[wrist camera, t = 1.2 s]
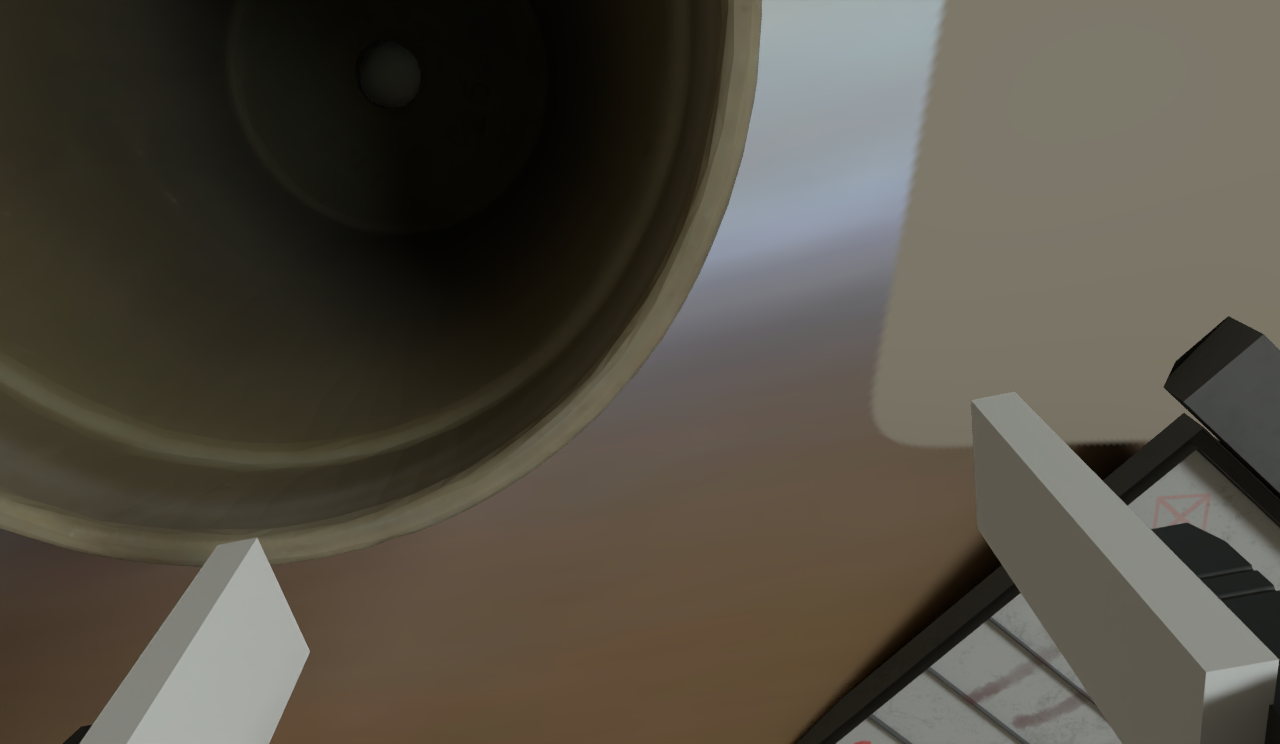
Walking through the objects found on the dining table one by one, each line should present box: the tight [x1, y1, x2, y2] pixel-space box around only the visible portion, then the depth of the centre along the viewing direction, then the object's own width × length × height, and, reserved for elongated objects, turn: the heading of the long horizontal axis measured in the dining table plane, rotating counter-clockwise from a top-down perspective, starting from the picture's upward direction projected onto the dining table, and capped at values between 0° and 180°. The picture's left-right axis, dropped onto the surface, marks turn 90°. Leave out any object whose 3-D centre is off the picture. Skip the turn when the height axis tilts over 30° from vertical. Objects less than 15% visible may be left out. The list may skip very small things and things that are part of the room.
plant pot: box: [0, 0, 762, 567], centre depth 28 cm, size 25×25×22 cm
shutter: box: [797, 316, 1280, 744], centre depth 49 cm, size 32×7×31 cm
